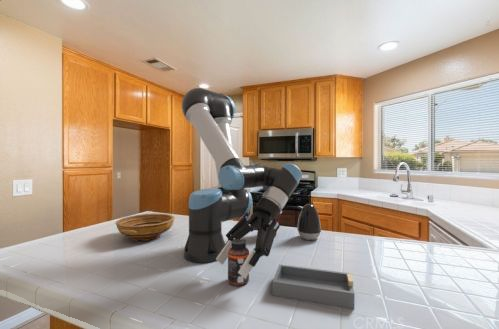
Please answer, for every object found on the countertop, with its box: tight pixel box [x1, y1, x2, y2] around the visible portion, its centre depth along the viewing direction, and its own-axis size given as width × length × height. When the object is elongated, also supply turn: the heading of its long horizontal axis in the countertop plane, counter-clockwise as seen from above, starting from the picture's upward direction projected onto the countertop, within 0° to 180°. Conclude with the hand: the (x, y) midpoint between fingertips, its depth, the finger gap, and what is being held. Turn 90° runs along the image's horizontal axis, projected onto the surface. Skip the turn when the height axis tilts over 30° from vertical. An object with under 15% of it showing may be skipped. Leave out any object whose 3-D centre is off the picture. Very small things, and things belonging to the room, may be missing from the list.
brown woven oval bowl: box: [115, 213, 176, 241], centre depth 107 cm, size 30×24×8 cm
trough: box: [272, 264, 355, 310], centre depth 62 cm, size 19×10×5 cm, turn 73°
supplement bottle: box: [227, 238, 250, 287], centre depth 67 cm, size 6×6×11 cm
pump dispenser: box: [296, 203, 322, 241], centre depth 105 cm, size 10×10×15 cm
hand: (229, 268), depth 65 cm, fingers open, 10 cm apart
